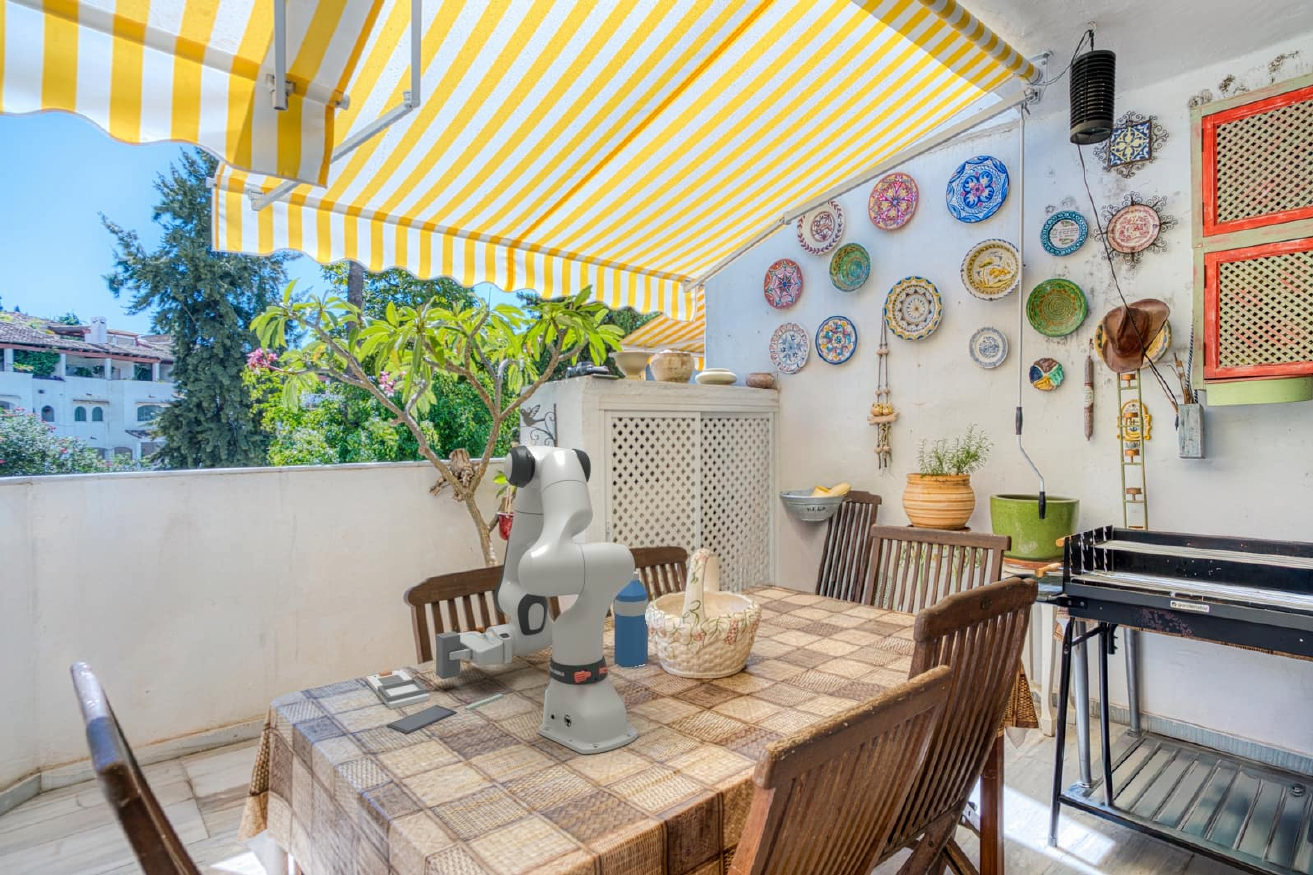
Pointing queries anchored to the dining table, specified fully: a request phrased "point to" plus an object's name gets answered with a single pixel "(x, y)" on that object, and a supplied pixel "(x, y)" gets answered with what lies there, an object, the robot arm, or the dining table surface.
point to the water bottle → (631, 625)
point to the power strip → (398, 688)
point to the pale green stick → (483, 702)
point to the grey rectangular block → (443, 663)
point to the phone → (421, 719)
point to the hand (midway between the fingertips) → (444, 653)
